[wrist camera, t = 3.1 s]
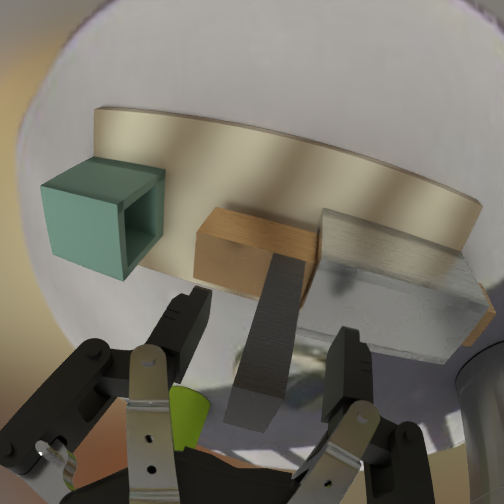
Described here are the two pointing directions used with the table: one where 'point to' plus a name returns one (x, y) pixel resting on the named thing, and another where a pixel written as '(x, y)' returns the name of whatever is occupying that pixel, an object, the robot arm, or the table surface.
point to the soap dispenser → (187, 416)
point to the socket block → (105, 214)
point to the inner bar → (265, 302)
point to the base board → (269, 182)
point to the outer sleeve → (390, 290)
